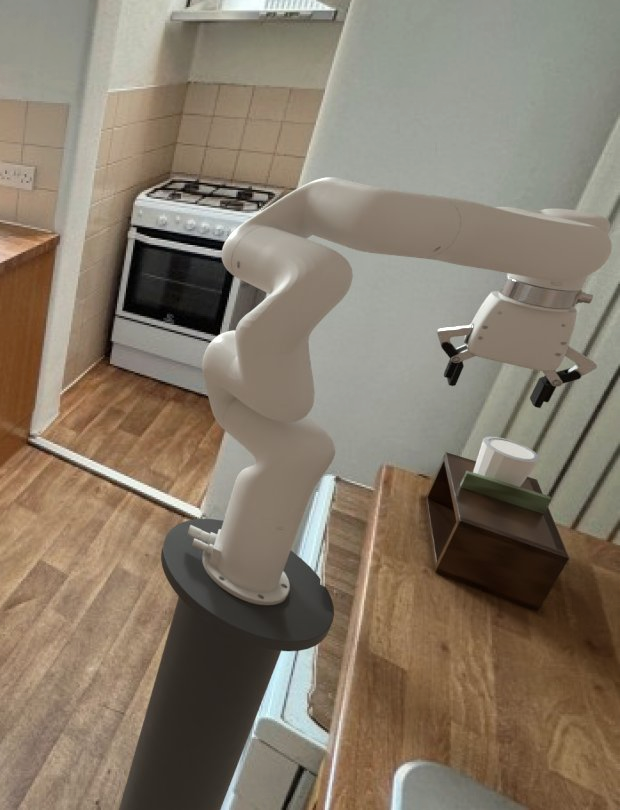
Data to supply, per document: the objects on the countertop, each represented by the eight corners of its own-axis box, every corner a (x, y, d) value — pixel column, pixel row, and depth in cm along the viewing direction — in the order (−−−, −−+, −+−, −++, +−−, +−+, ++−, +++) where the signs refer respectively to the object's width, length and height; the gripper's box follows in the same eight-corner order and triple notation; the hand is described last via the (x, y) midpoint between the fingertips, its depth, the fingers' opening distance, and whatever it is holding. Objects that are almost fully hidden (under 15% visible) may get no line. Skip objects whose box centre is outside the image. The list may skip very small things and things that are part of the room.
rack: (435, 572, 99) (467, 505, 94) (424, 498, 115) (451, 438, 110) (538, 612, 92) (578, 542, 87) (511, 528, 108) (544, 465, 103)
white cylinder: (471, 484, 103) (488, 451, 100) (464, 463, 108) (479, 431, 105) (527, 501, 99) (545, 467, 97) (516, 478, 104) (533, 445, 102)
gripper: (617, 300, 86) (564, 401, 92) (455, 272, 96) (418, 366, 102) (634, 317, 80) (577, 424, 87) (461, 286, 90) (421, 384, 96)
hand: (491, 392), depth 94 cm, fingers open, 9 cm apart
